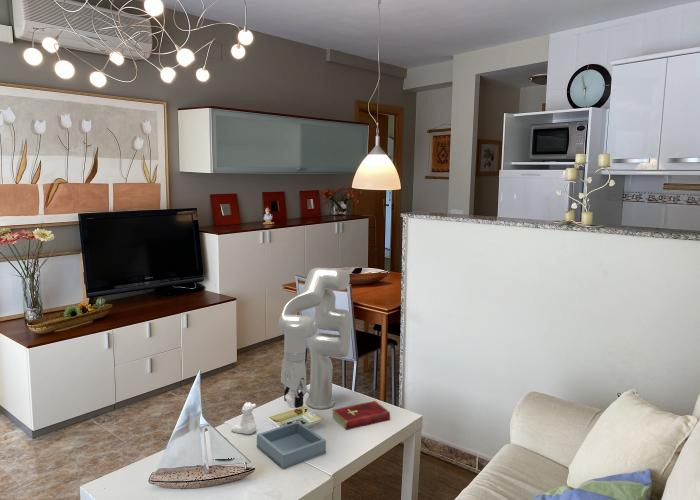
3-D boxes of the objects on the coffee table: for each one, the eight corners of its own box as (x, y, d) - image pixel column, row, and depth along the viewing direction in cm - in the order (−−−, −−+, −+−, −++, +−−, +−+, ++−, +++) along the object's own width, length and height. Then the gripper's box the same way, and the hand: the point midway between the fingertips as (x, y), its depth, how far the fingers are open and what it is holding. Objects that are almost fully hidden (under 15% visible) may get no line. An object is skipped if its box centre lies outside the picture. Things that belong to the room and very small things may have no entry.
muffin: (295, 411, 189) (295, 392, 188) (281, 406, 192) (281, 388, 191) (305, 405, 195) (305, 386, 194) (291, 401, 198) (292, 382, 197)
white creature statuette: (249, 423, 215) (249, 394, 213) (263, 430, 209) (264, 401, 208) (230, 431, 208) (230, 402, 206) (244, 439, 202) (244, 409, 200)
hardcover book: (389, 421, 222) (390, 411, 221) (345, 431, 212) (345, 421, 211) (374, 409, 232) (375, 400, 232) (331, 418, 222) (331, 409, 222)
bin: (256, 447, 197) (257, 434, 196) (297, 433, 208) (298, 421, 207) (282, 469, 183) (283, 455, 182) (325, 453, 194) (325, 440, 193)
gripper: (272, 350, 195) (271, 397, 198) (299, 365, 182) (298, 415, 184) (290, 347, 200) (289, 393, 202) (317, 360, 186) (316, 409, 189)
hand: (293, 403), depth 193 cm, fingers closed on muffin, 6 cm apart
